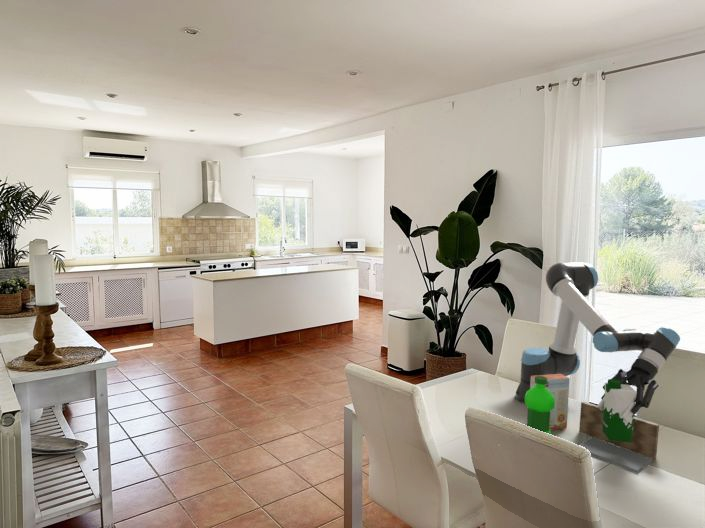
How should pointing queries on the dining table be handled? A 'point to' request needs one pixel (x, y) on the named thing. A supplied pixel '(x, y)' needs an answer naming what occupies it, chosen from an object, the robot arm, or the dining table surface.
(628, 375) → the robot arm
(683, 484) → the dining table surface
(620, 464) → the slate mat
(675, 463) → the dining table surface
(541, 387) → the plastic bottle
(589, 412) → the walnut screen
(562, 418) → the cracker box
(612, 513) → the dining table surface
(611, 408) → the soya milk
